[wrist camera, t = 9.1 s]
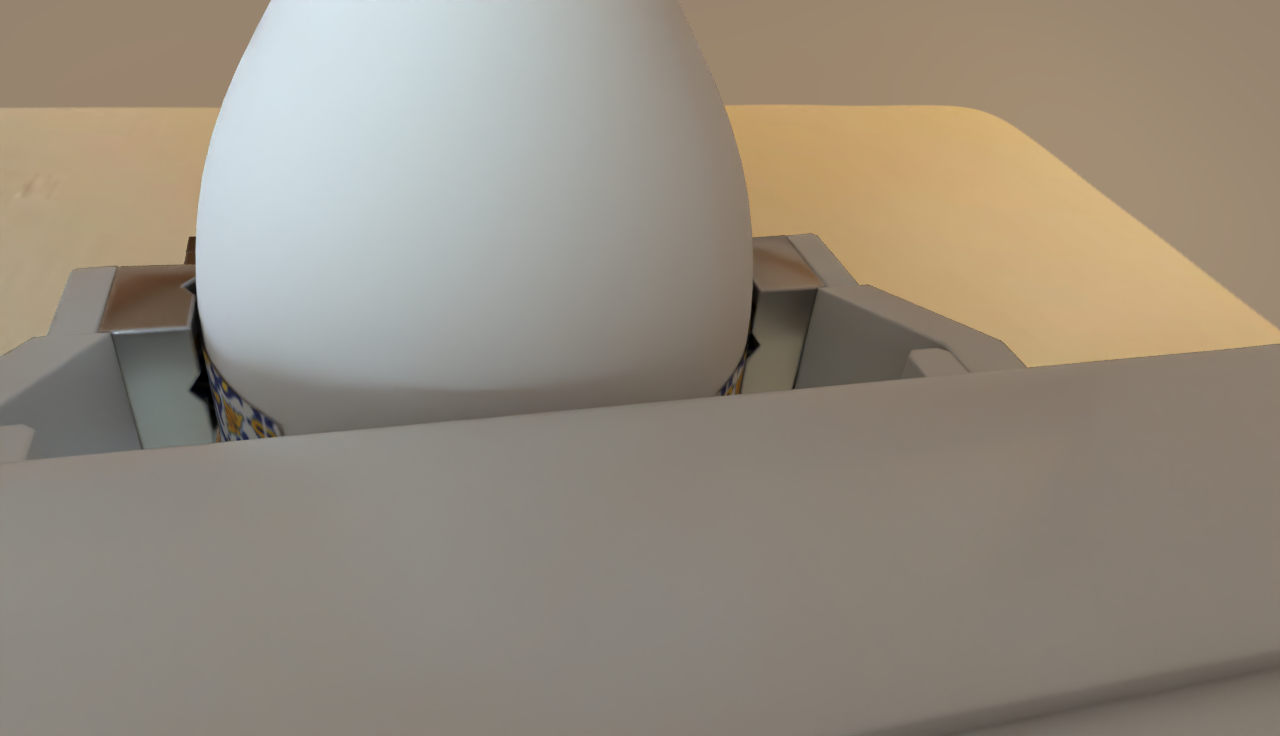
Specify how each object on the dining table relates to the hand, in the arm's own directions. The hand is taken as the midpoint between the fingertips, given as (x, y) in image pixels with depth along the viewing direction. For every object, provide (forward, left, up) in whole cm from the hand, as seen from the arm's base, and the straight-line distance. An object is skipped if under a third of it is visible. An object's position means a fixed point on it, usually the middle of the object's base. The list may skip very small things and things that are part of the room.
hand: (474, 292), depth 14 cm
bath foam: (0, -1, -11) cm, 11 cm away
